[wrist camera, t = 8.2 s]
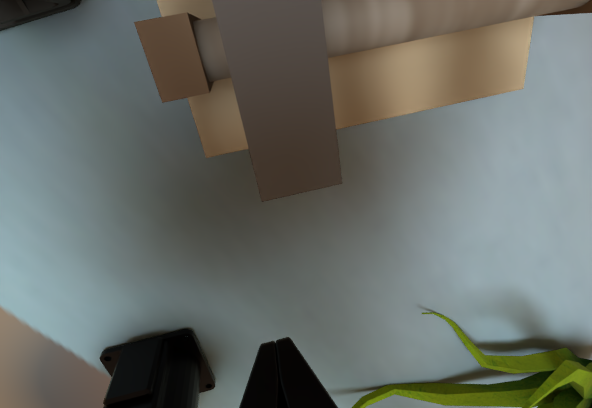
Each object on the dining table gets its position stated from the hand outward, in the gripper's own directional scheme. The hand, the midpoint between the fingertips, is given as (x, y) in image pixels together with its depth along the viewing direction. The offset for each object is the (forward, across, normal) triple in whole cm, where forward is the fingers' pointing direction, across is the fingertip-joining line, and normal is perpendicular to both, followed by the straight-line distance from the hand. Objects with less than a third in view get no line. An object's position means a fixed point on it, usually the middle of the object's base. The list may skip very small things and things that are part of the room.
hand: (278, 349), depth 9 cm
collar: (+10, -2, -8) cm, 12 cm away
